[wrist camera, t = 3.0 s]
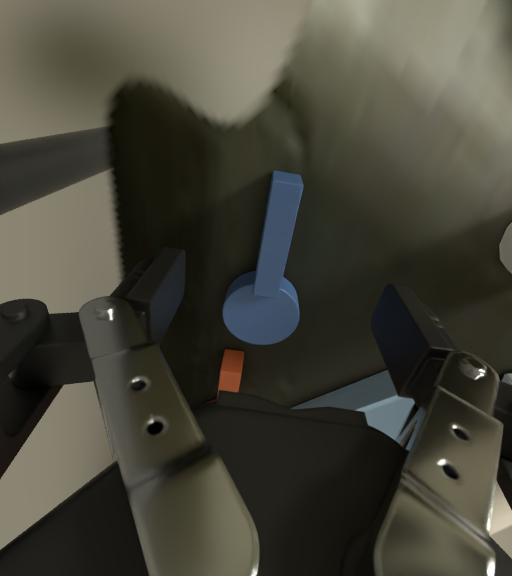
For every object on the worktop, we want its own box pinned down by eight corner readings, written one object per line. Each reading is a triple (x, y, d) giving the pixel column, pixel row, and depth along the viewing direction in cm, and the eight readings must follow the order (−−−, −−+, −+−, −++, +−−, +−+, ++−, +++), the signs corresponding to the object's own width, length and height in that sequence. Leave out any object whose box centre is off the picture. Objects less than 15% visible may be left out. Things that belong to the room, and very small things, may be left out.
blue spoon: (240, 164, 17) (236, 173, 15) (332, 179, 17) (339, 190, 15) (223, 323, 23) (217, 345, 21) (289, 333, 23) (291, 356, 21)
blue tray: (289, 408, 28) (290, 433, 26) (419, 356, 24) (433, 381, 21) (355, 472, 33) (360, 497, 31) (471, 439, 29) (486, 466, 27)
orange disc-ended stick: (203, 344, 24) (196, 367, 22) (266, 354, 24) (265, 377, 22) (197, 427, 31) (191, 451, 28) (247, 435, 31) (245, 458, 29)
